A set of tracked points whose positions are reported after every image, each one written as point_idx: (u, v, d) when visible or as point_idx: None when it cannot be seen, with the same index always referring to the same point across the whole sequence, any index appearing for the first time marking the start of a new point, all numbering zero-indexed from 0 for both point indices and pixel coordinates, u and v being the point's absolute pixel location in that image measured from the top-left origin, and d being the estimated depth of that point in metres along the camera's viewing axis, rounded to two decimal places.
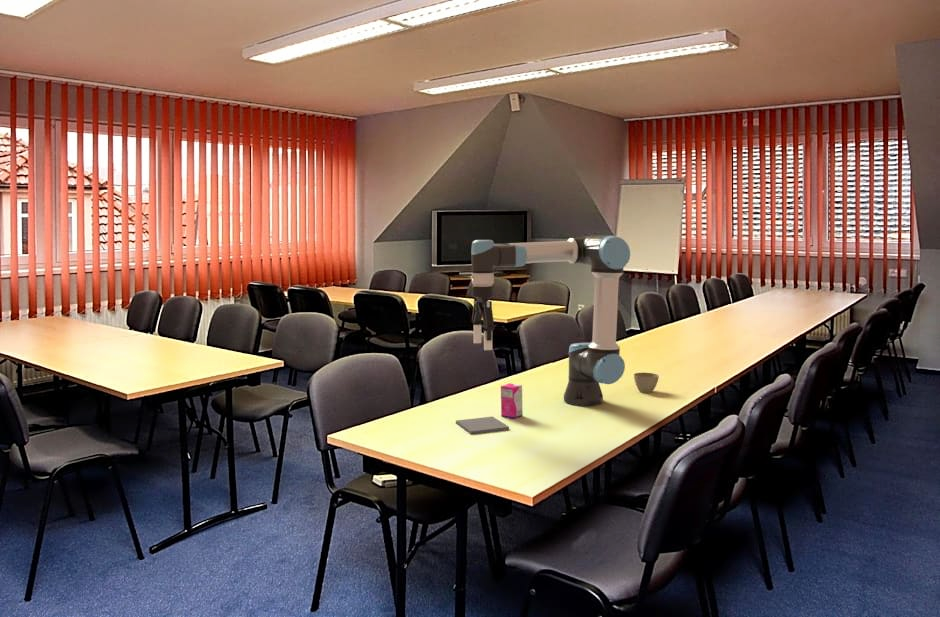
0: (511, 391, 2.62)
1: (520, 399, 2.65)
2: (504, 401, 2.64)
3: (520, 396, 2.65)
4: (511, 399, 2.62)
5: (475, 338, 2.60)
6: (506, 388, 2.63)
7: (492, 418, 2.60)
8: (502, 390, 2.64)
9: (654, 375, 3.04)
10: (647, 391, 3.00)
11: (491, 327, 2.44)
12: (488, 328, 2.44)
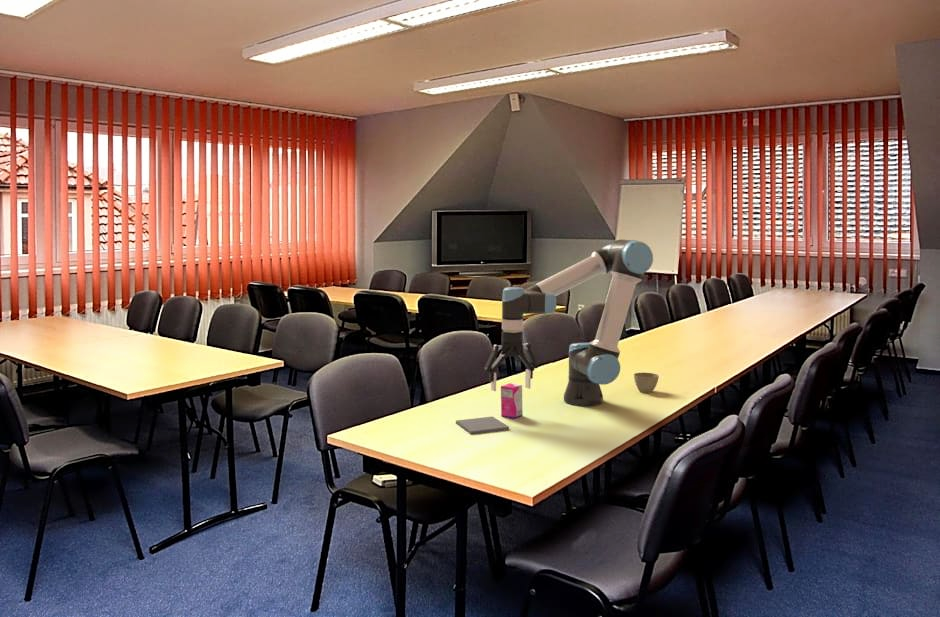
0: (511, 391, 2.62)
1: (520, 399, 2.65)
2: (504, 401, 2.64)
3: (520, 396, 2.65)
4: (511, 399, 2.62)
5: (525, 382, 2.68)
6: (506, 388, 2.63)
7: (492, 418, 2.60)
8: (502, 390, 2.64)
9: (654, 375, 3.04)
10: (647, 391, 3.00)
11: (485, 368, 2.60)
12: (484, 368, 2.61)
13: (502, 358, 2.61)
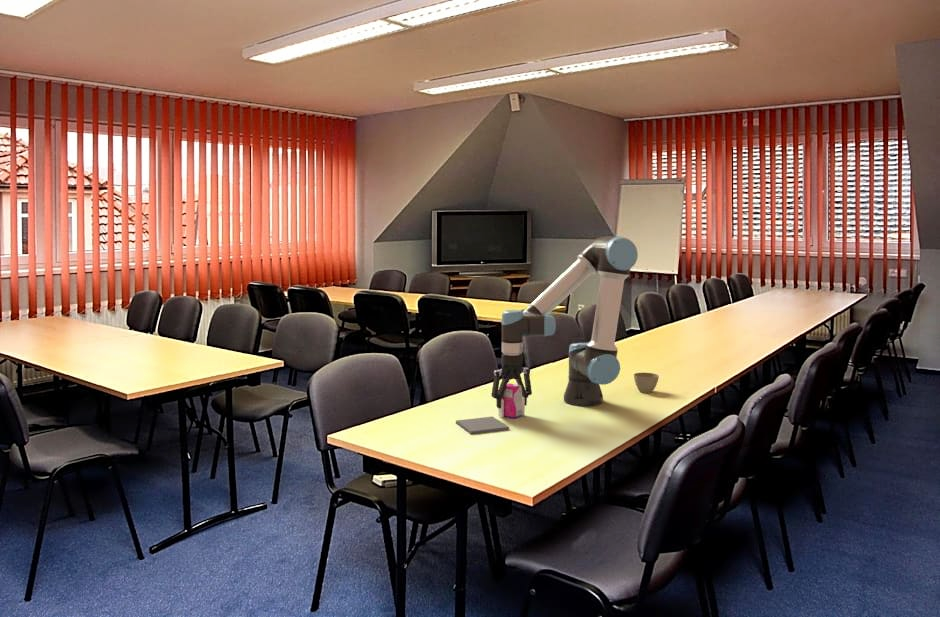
0: (510, 391, 2.62)
1: (520, 399, 2.65)
2: (504, 401, 2.64)
3: (519, 396, 2.65)
4: (511, 399, 2.62)
5: None
6: (506, 388, 2.63)
7: (492, 418, 2.60)
8: None
9: (654, 375, 3.04)
10: (647, 391, 3.00)
11: (493, 395, 2.62)
12: (492, 395, 2.63)
13: (505, 383, 2.63)
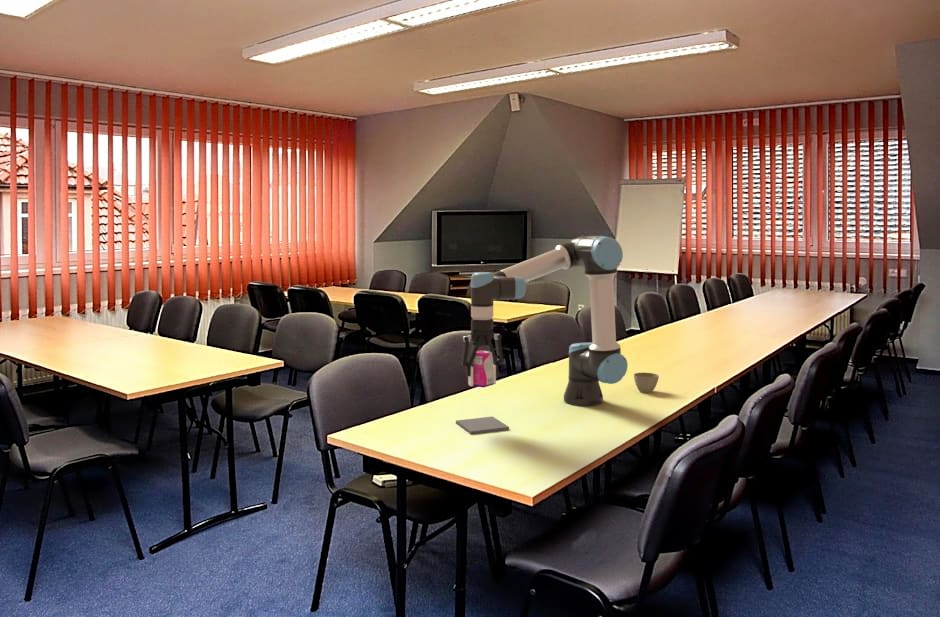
0: (480, 357, 2.47)
1: (491, 367, 2.50)
2: (474, 369, 2.50)
3: (490, 364, 2.50)
4: (481, 366, 2.47)
5: None
6: (476, 355, 2.48)
7: (492, 418, 2.60)
8: None
9: (654, 375, 3.04)
10: (647, 391, 3.00)
11: (462, 362, 2.48)
12: (460, 363, 2.49)
13: (475, 349, 2.48)
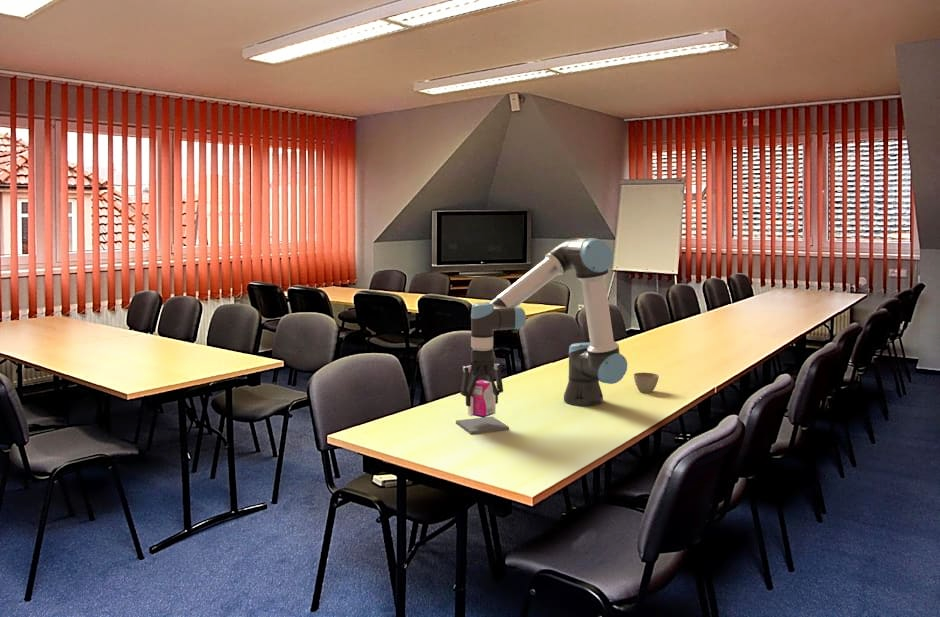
0: (480, 388, 2.48)
1: (490, 397, 2.52)
2: (473, 399, 2.51)
3: (490, 394, 2.51)
4: (481, 396, 2.49)
5: None
6: (475, 385, 2.50)
7: (492, 418, 2.60)
8: None
9: (654, 375, 3.04)
10: (647, 391, 3.00)
11: (462, 393, 2.49)
12: (460, 393, 2.50)
13: (475, 379, 2.49)
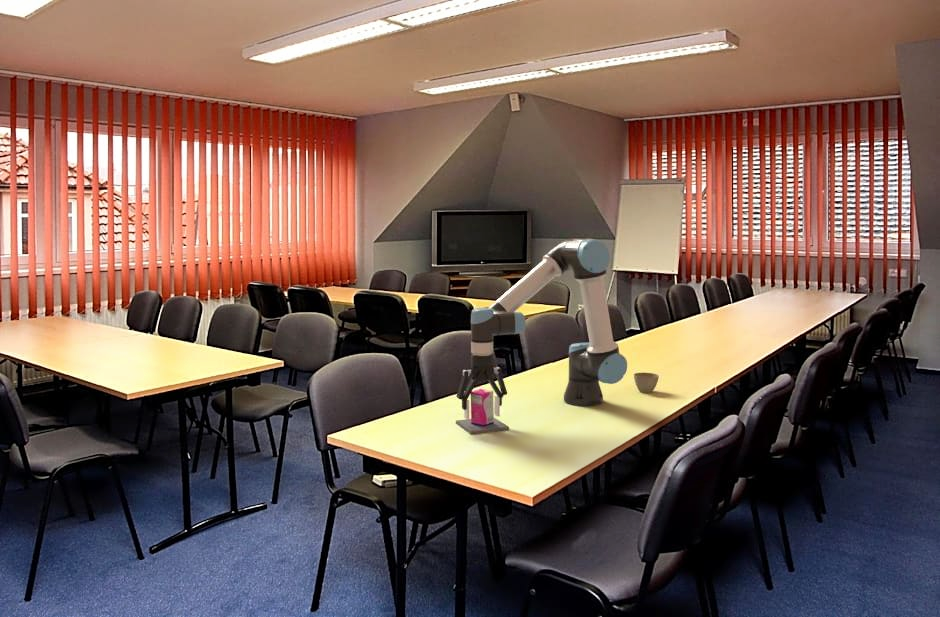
0: (480, 397, 2.49)
1: (491, 406, 2.52)
2: (474, 408, 2.51)
3: (490, 403, 2.52)
4: (481, 405, 2.49)
5: (495, 409, 2.56)
6: (476, 394, 2.50)
7: None
8: (472, 396, 2.51)
9: (654, 375, 3.04)
10: (647, 391, 3.00)
11: (458, 396, 2.49)
12: (457, 396, 2.50)
13: (473, 384, 2.49)
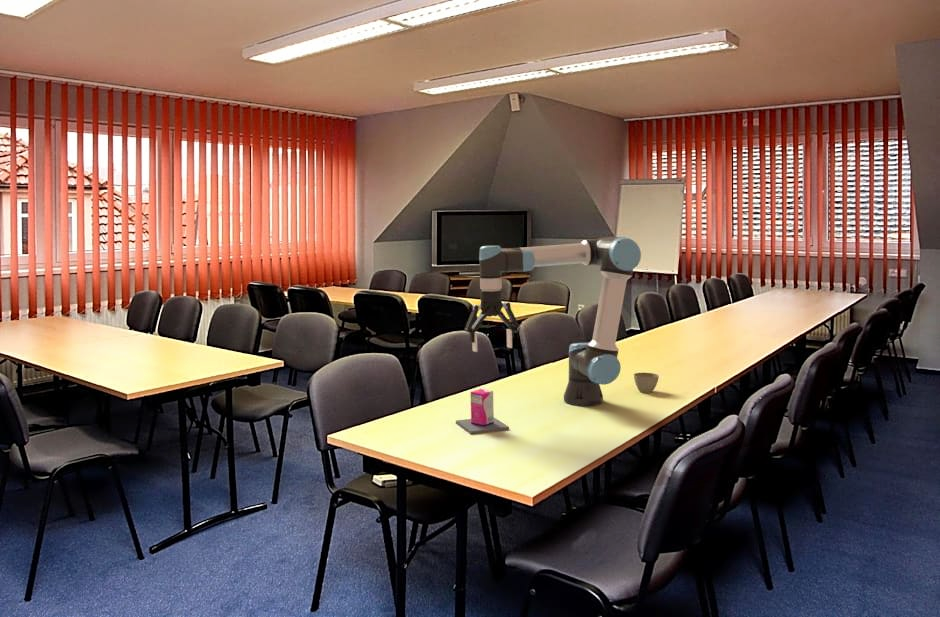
0: (480, 397, 2.49)
1: (491, 406, 2.52)
2: (474, 408, 2.51)
3: (490, 403, 2.52)
4: (481, 405, 2.49)
5: (507, 342, 2.64)
6: (476, 394, 2.50)
7: None
8: (472, 396, 2.51)
9: (654, 375, 3.04)
10: (647, 391, 3.00)
11: (466, 329, 2.56)
12: (464, 329, 2.57)
13: (482, 318, 2.57)
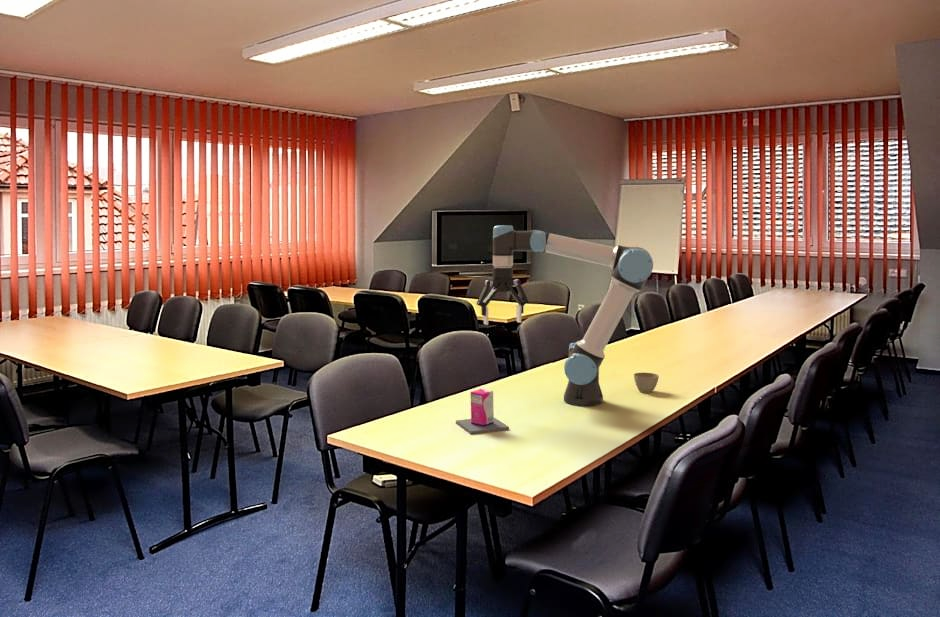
0: (480, 397, 2.49)
1: (491, 406, 2.52)
2: (474, 408, 2.51)
3: (490, 403, 2.52)
4: (481, 405, 2.49)
5: (517, 317, 2.80)
6: (476, 394, 2.50)
7: None
8: (472, 396, 2.51)
9: (654, 375, 3.04)
10: (647, 391, 3.00)
11: (478, 303, 2.72)
12: (477, 303, 2.73)
13: (493, 293, 2.73)
